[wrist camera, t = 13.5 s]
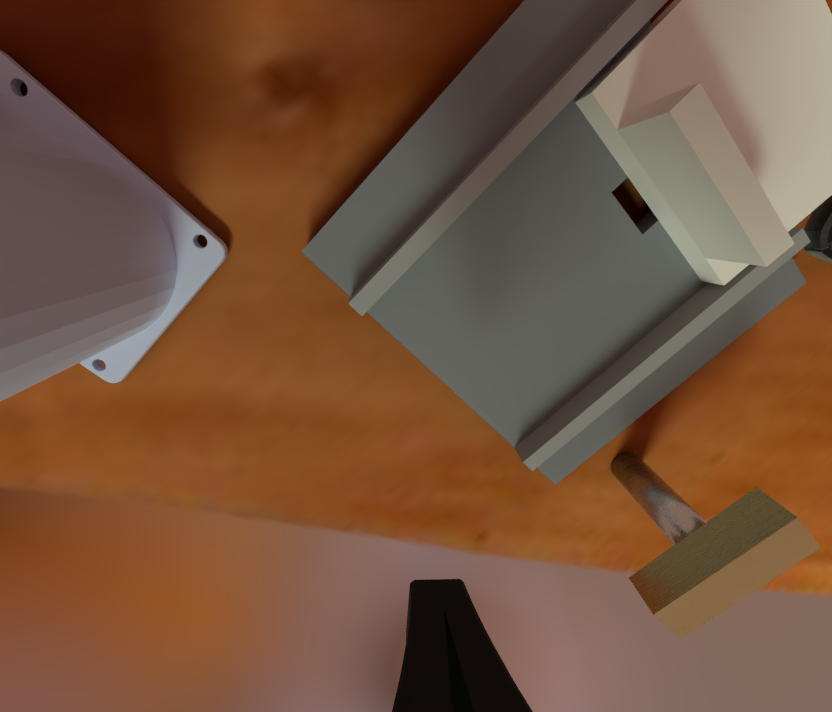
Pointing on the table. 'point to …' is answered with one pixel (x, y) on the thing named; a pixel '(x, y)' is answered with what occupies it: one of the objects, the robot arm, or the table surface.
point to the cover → (724, 125)
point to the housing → (536, 247)
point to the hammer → (709, 549)
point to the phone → (820, 232)
